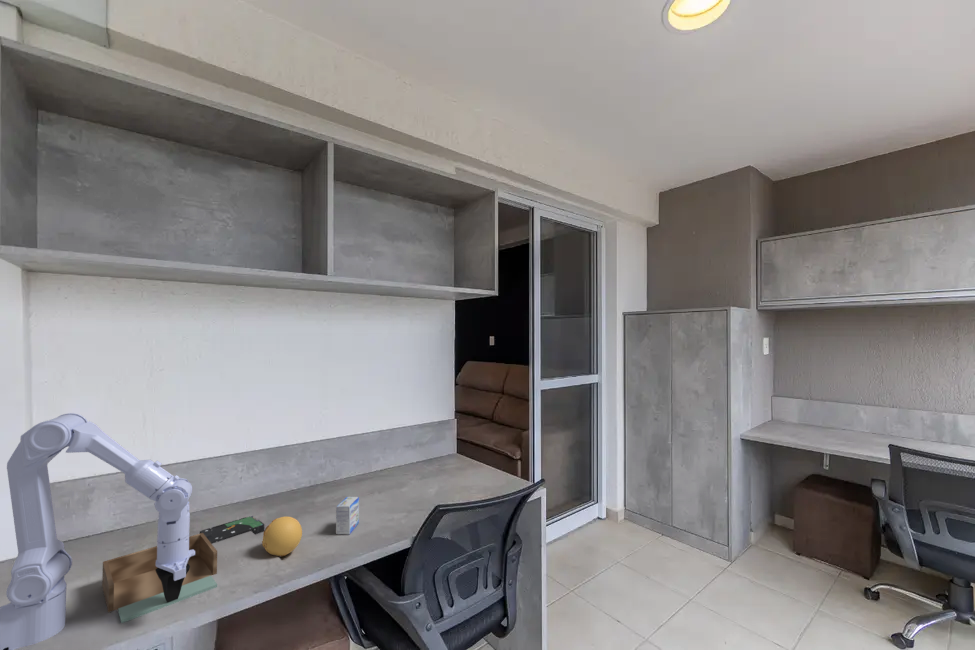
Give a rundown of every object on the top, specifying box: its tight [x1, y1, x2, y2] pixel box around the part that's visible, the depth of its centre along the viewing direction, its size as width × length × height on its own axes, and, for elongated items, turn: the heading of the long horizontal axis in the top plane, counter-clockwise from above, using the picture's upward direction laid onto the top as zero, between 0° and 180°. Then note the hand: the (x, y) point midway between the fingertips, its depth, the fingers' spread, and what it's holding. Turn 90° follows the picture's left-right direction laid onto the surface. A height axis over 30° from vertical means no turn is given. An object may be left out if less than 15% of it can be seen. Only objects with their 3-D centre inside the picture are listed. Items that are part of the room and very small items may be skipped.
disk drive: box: [199, 515, 266, 545], centre depth 126 cm, size 10×3×15 cm
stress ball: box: [261, 515, 303, 558], centre depth 115 cm, size 10×10×10 cm
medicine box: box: [335, 496, 360, 535], centre depth 131 cm, size 8×4×9 cm, turn 177°
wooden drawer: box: [101, 532, 218, 613], centre depth 101 cm, size 20×14×7 cm
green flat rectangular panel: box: [117, 575, 218, 624], centre depth 93 cm, size 17×2×6 cm
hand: (172, 599), depth 92 cm, fingers closed
